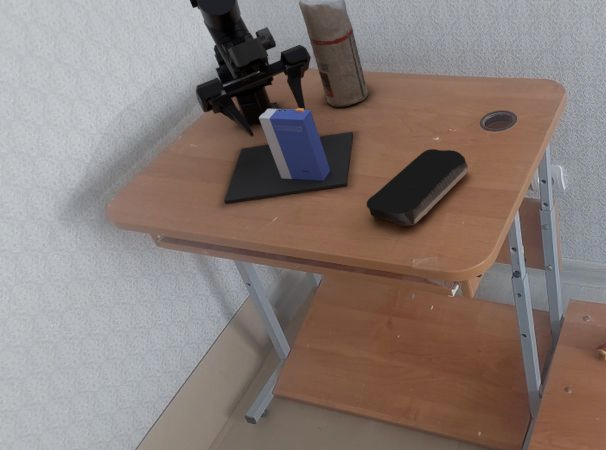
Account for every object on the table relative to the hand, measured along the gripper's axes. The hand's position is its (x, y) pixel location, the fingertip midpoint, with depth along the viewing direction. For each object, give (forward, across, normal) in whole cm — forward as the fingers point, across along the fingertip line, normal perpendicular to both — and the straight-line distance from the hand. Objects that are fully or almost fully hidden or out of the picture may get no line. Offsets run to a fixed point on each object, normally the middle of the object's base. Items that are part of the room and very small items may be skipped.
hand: (279, 124), depth 113 cm
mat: (+6, -1, +5) cm, 8 cm away
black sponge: (+22, +12, -11) cm, 27 cm away
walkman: (+9, 0, +2) cm, 9 cm away
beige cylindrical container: (-4, +17, +15) cm, 23 cm away
